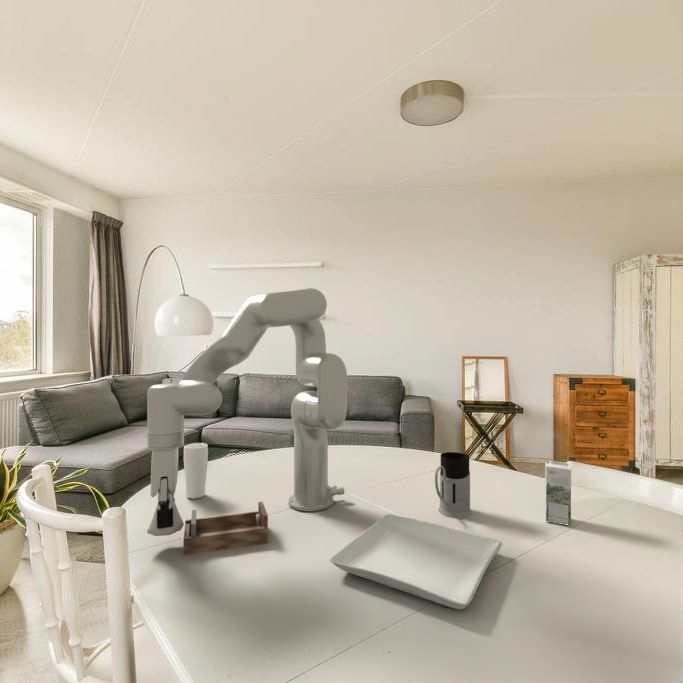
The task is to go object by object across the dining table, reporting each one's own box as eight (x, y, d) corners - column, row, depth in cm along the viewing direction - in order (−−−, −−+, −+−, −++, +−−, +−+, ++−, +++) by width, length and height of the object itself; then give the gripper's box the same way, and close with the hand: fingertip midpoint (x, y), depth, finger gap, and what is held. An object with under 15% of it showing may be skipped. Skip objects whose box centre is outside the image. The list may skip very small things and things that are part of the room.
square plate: (467, 628, 68) (467, 603, 68) (326, 577, 82) (326, 557, 82) (503, 556, 91) (503, 537, 91) (387, 526, 105) (387, 511, 105)
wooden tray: (262, 524, 106) (262, 500, 106) (268, 543, 96) (268, 516, 96) (185, 534, 100) (185, 509, 100) (183, 555, 90) (183, 527, 90)
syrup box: (569, 518, 109) (569, 462, 110) (571, 527, 104) (571, 468, 104) (545, 514, 112) (545, 459, 112) (545, 523, 107) (545, 465, 107)
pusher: (196, 529, 100) (196, 509, 100) (195, 545, 92) (195, 524, 92) (191, 530, 100) (191, 510, 100) (191, 546, 92) (191, 524, 92)
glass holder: (477, 511, 114) (477, 455, 114) (451, 527, 104) (451, 466, 104) (448, 502, 120) (448, 449, 120) (421, 517, 110) (420, 459, 110)
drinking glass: (178, 498, 123) (178, 447, 123) (194, 491, 130) (194, 441, 130) (197, 501, 121) (197, 449, 121) (212, 493, 127) (212, 443, 127)
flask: (189, 524, 97) (189, 480, 97) (170, 538, 90) (170, 491, 90) (161, 521, 98) (161, 478, 98) (140, 535, 91) (140, 489, 91)
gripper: (151, 433, 101) (152, 509, 101) (142, 450, 85) (142, 541, 85) (185, 431, 103) (185, 505, 103) (182, 447, 87) (182, 536, 87)
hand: (166, 521), depth 94 cm, fingers closed on flask, 5 cm apart
